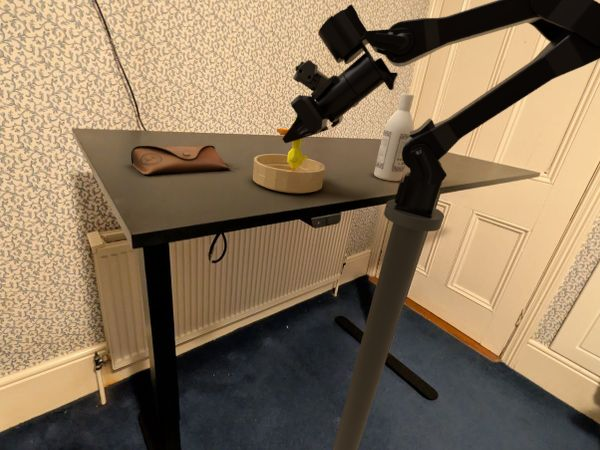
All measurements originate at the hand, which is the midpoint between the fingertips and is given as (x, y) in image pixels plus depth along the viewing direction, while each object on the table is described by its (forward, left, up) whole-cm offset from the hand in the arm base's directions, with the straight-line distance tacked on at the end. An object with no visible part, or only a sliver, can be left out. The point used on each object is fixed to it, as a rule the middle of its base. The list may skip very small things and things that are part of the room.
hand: (286, 140), depth 63 cm
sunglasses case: (+19, +8, -9) cm, 22 cm away
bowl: (-1, 0, -9) cm, 9 cm away
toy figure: (-1, 0, -7) cm, 7 cm away
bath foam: (-16, -26, -9) cm, 32 cm away
